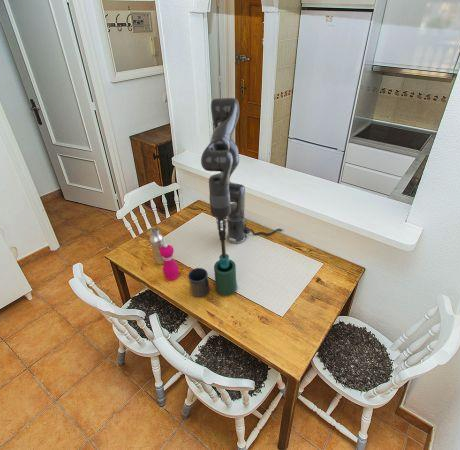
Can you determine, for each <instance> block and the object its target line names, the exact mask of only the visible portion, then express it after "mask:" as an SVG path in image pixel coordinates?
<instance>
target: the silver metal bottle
mask: <svg viewBox="0 0 460 450" xmlns="http://www.w3.org/2000/svg"><path fill="white" fill-rule="evenodd" d="M149 231H150V236H149V239H148V241H149V244H150V246H151V248H152V252H153V260H154V262H155V264H157V265H164V260H163V258H162V256H161V254H160V248H161V247H162V246H164V244H165V243H164V242H165V241H164V236H163V235H162V234H161V233H160V231H159V228H158V227H152V228H151V229H150V230H149Z"/></svg>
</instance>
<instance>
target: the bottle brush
mask: <svg viewBox="0 0 460 450" xmlns="http://www.w3.org/2000/svg"><path fill="white" fill-rule="evenodd" d="M220 246H221V247H220V248H221V254H219V257H218V258H219V260H220V267H221V268H228V267H229V259H230V255H229V254H228V253H227V251H226V240H225V241H220Z"/></svg>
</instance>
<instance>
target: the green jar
mask: <svg viewBox="0 0 460 450" xmlns="http://www.w3.org/2000/svg"><path fill="white" fill-rule="evenodd" d="M213 270H214V281H215V282H214V283H215V290H216V292H217V294H218V295H220V296H221V297H222V296H223V297H228V296H232V295H234V294H235V292H236V291H237V268H236V263H235V261H234V260H232V259H230V258H229V267H228V268H221V267H220V259H219V260H217V261H216V262H215V263H214V264H213Z"/></svg>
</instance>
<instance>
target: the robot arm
mask: <svg viewBox="0 0 460 450" xmlns="http://www.w3.org/2000/svg"><path fill="white" fill-rule="evenodd" d="M210 113H211V119H212V124H213V129H214V130H213V132H212V134H211V137H210V138H211V139H210V141H209V144H208V145H207V146H206V148H204V150H203V152H202V154H201V157H200V164H201V167H202V169H203V170H204V171H207V172H219V173H214V174H212V175H210V176H209V178H208V190H209V191H208V192H209V207H210V208H209V209H210V214H211V215H212V216H213V217H214V218H215V221H216V222H215V223H216V226H217V227H216V228H217V230H218V236H219V241H220V242H221V241H225V242H226V234H227V240H228V241H229V242H230V243H232V244H240V243H242V242H245V240H246V238H247V235H248V234H250V233H251V232H252V235H254V236H258V235H261V234H263V235H265V236H271V235H273V234H275V233H276V232H278V231H280V232H282V231H283V229H282V228H276V229H275V230H273V231H272V232H264V231H259V232H255V230H254V229H252V228H249V227H248V226H247V222H245V221H246V220H245V219H246V218H245V208H246V207H245V205H246V186H245V185H244V184H242V183H241V184H240V183H235V182H231V177H232V176H233V173H234V172H235V170H236V169H237V168H238V166H239V163H240V152H239V151H240V150H239V147H238V145H237V144H236V142H235V141H234V139H233V138H232V136H233V134H234V132H235V129H236V126H237V123H238V121H239V118H240V103H239V100H238V99H237V98H235V97H215V98H213V99H212V100H211V102H210ZM226 230H227V231H226Z"/></svg>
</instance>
